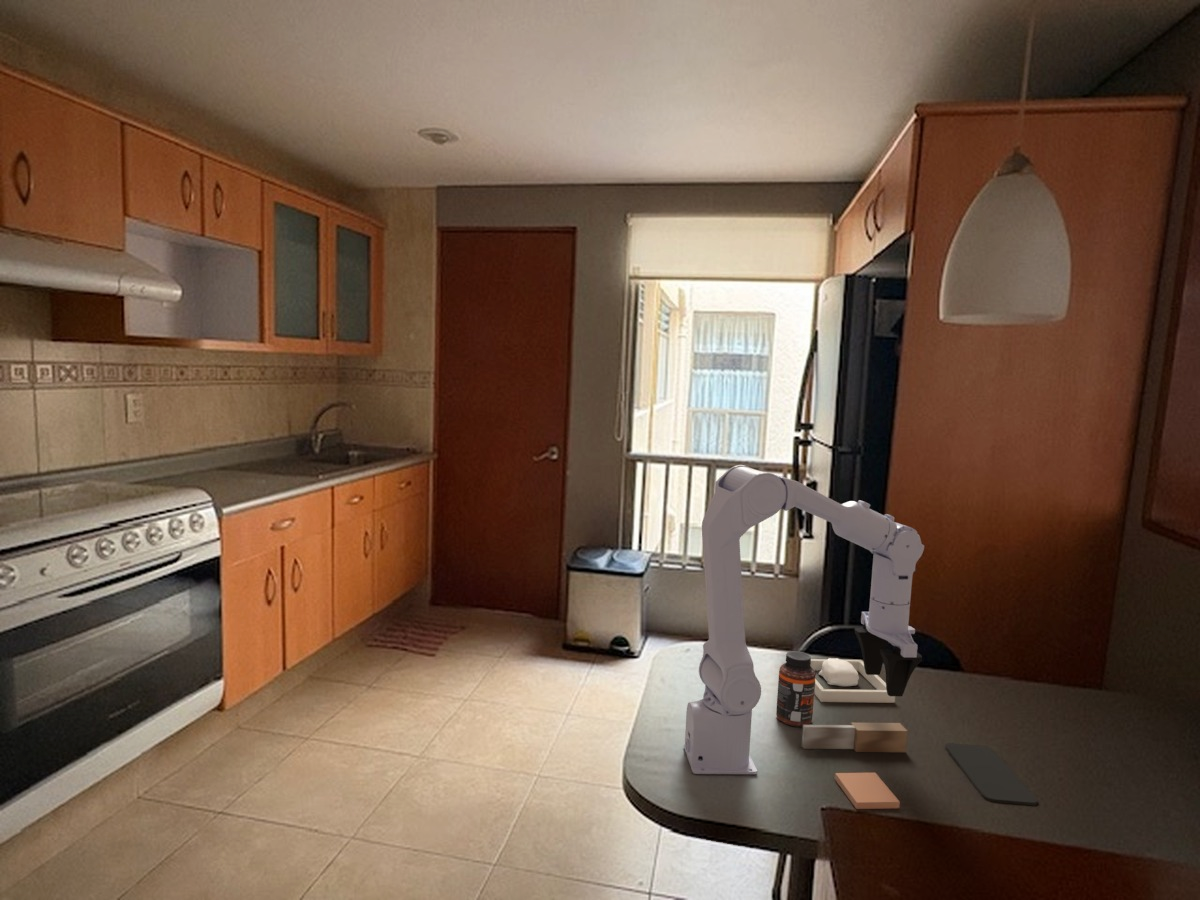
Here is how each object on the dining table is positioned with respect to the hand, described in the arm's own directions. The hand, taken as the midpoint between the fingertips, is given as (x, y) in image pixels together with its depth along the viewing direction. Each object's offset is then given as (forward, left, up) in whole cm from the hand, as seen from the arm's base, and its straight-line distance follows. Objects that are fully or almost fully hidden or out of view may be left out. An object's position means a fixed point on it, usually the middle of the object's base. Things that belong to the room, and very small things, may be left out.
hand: (883, 684), depth 108 cm
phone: (+13, -7, -11) cm, 19 cm away
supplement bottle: (-11, +9, -11) cm, 17 cm away
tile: (-8, -9, -10) cm, 15 cm away
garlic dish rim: (+3, +23, -10) cm, 25 cm away
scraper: (-4, 0, -10) cm, 11 cm away
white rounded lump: (+4, +26, -11) cm, 28 cm away
